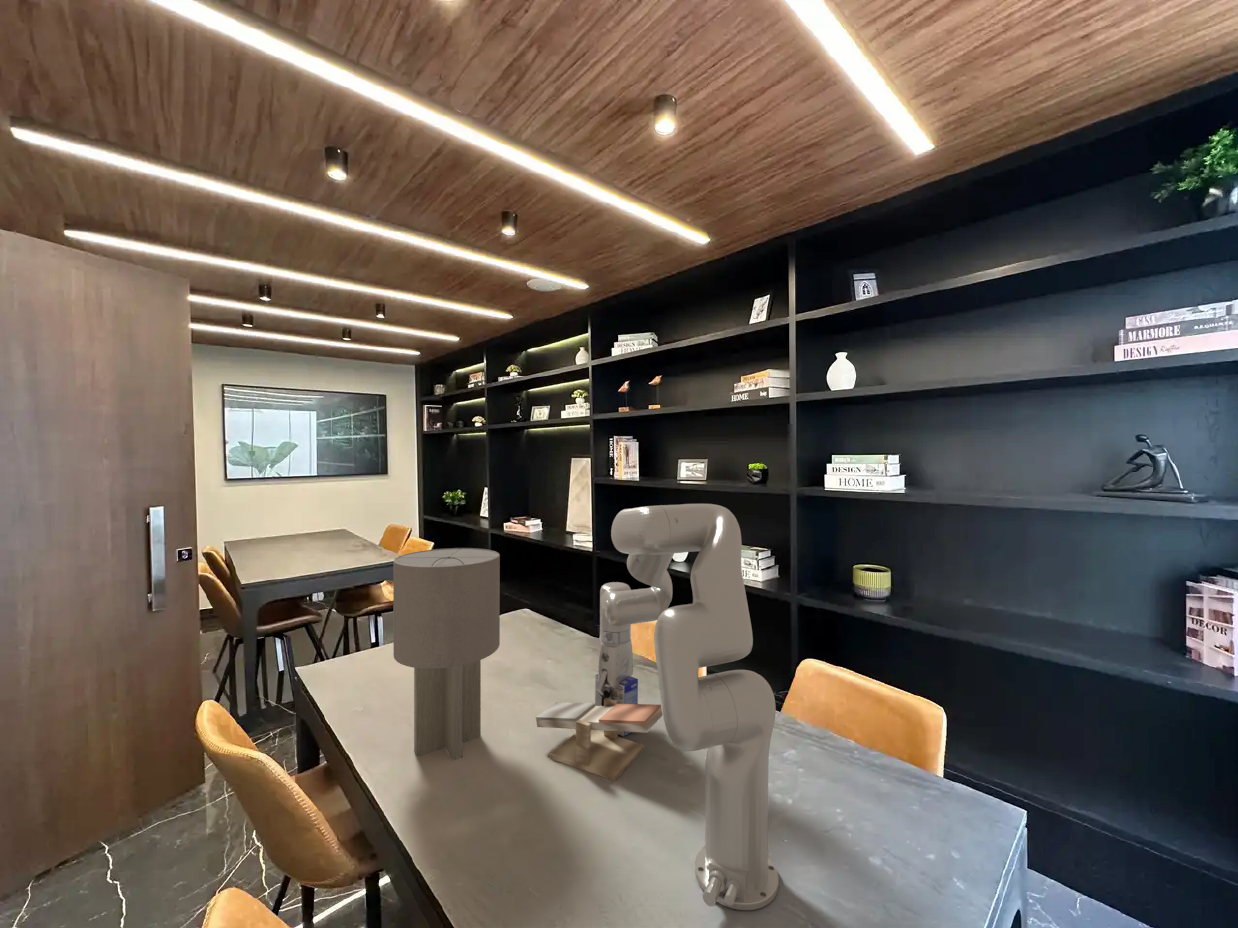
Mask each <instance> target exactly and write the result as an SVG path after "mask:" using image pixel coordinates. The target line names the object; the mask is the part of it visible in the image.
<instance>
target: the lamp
mask: <svg viewBox="0 0 1238 928" xmlns="http://www.w3.org/2000/svg"><path fill="white" fill-rule="evenodd" d="M500 556H501V554H500V553H499V552H497V551H495V550H491V549H486V548H475V547H474V548H473V547H453V548H435V549H428V550H427V549H425V550H421V551H413V552H409V553H405V554H402V555H399V556H398V557H395V558H394V559H393V571H392V573H393V580H392V581H393V599H392V600H393V610H392V611H393V615H392V616H393V617H392V619H393V620H392V621H393V659H394V660H395V661H396V662H397V663H398V664H400V665H402V666H405V667H409V668H413V669H414V670H413V697H414V698H413V705H414V706H413V708H414V710H413V721H414V723H413V726H414V727H413V730H414V731H413V732H414V733H413V734H414V736H413V745H414V746H413V752H414V753H415V755H416V756H417V757H418V756H420V755H423V754H427V753H430V752H434V751H436V750H441V749H443V748H444V749H445V750H446V752H447V754H448V756H449V758H450V759H451V761H454V760H458V759H460V758H463V743H464V742H466V741H470V740H473V739H476V738H480V737H481V736H482V735H481V734H482V733H481V729H482V728H481V727H482V726H481V722H482V721H481V720H482V718H481V715H482V714H481V713H482V712H481V710H482V708H481V704H482V703H481V697H482V695H481V691H482V689H481V685H482V684H481V683H482V682H481V681H482V680H481V679H482V678H481V675H482V674H481V672H482V669H481V668H482V667H481V662H482V660H484V659H486V658H488V657H490V656H491V655H492V654H494V653H495V652H497V650H498V649H499V648H500V644H501V643H500V640H501V639H500V637H501V635H500V631H501V630H500V629H501V628H500V627H501V626H500V625H501V624H500V620H501V619H500V616H501V615H500V614H501V612H500V611H501V610H500V608H501V607H500V605H501V604H500V603H501V601H500V598H501V597H500V595H501V593H500V591H501V590H500V589H501V588H500V587H501V586H500V585H501V584H500V583H501V582H500V581H501V580H500V579H501V578H500V577H501V575H500V573H501V572H500V569H501V565H500V562H501V561H500V560H501V559H500V558H501V557H500Z"/></svg>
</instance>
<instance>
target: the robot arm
mask: <svg viewBox="0 0 1238 928" xmlns="http://www.w3.org/2000/svg"><path fill="white" fill-rule="evenodd" d="M740 527H741V526H740V524H739V522H738V520H737V518H736V516H735V515H734V514H733V512H731V510H730V509H728V508H727V507H725V506H722V505H719V504H713V503H683V504H667V505H666V504H664V505H663V504H660V505H647V506H646V505H645V506H639V507H633V508H624V509H622V510H620V511H619V512H618V513H617V514H616V516H615V517H614V519H613V521H612V525H611V530H610V533H611V534H610V537H611V541H612V544H613V546H614V548H615V549H616V550H617V551H618V552H620V553H621V554H628V557H627V559H626V567H627V570H628V573H629V574H630V575H631V576H632V577H633V578H634V579H636V580H637V581H638V582H640V583H643V584H644V585H646V586H647V585H648V586H650V587H647V588H638V589H631V587H630V585H629V584H627V583H625V582H619V581H616V582H615V581H612V582H607V583H604V584H603V585H601V587H600V590H599V642H600V647H599V653H598V654H599V655H598V666H597V669H598V670H597V672H598V673H597V674H598V680H599V683H598V686H597V691H598V692H599V694H600V697H601V698H602V702H601V706H604V699H605V698H610V699H613V693H614V688H618V687H619V683H620V682H621V681H622V680H624V679H625V678H626V677H628V676H631V677H633V675H634V653H633V644H632V638H631V636H632V634H631V633H632V631H631V629H632V625H634V624H642V623H651V622H655V621H656V623H655V626H654V632H653V633H654V635H653V642H654V654H655V661H656V662H655V663H656V670H657V678H658V685H659V686H658V687H659V692H660V693H659V695H660V701H661V709H662V714H663V715H662V717H663V721H664V725H665V729H666V732H667V735H668V737H669V739H670V740H671V743H673V745H674V746H675V747H677V749H679V750H681V751H684V752H696V751H701V750H705V749H707V751H706V756H705V757H706V758H705V772H704V773H705V774H704V775H705V782H704V783H705V788H704V789H705V799H704V800H705V804H704V805H705V807H704V808H705V812H704V813H705V816H704V817H705V819H704V820H705V828H704V830H705V831H704V832H705V835H704V837H705V838H704V839H705V840H704V842H705V844H704V846H702V848H701V849H700V850H699V851H698V853H697V855H696V857H695V861H694V863H695V864H694V872H695V877H696V880H697V882H698V884H699V887H701V889H702V890H703V894H702V900H703V902H704V903H705V904H706V905H707V906H708V907H714V906H716V903H718V904H720V905H722V906H724V907H727V908H730V909H735V910H738V911H753V910H754V911H755V910H758V909H761V908H763V907H766V906H767V905H769V904H771V902H773V900H774V899H775V897H776V896H777V894H778V890H779V873H778V870H777V867H776V865H775V864H774V861H772V859H771V858H770V857H769V761H770V760H769V759H770V758H769V757H770V748H771V747H770V746H771V740H772V736H773V731H774V728H775V727H774V726H775V721H776V710H777V708H776V706H777V705H776V700H775V695H774V692H773V689H772V687H771V685H770V684H769V681H767V680H766V679H765V677H763V676H762V675H761V674H758V672H755V671H752V670H748V669H747V670H746V669H733V670H726V671H721V672H718V673H710V674H708V675H703V676H699V669H700V668H706V667H707V668H708V667H710V666H711V667H712V666H718V665H722V664H727V663H731V662H735V661H736V662H737V661H739V660H742V659H744V658H745V657H747V656H748V655H749V654H751V652H752V649H753V645H754V643H753V642H754V638H753V637H754V636H753V629H752V622H751V617H750V611H749V605H748V599H747V594H746V588H745V587H746V585H745V583H744V578H743V571H742V570H743V569H742V533H741V532H742V531H741V528H740ZM690 552H692V553H694V552H698V554H697V556H696V558H695V559H694V562H693V565H692V567H691V571H690V584H691V585H690V586H691V591H692V603H688V604H679V605H674V606H671V607H669V606H670V603H671V602H672V599H673V582H672V578H671V576H670V574H669V571H668V568H669V565H670V563H671V561H672V559H673V556H674V555H675V554H684V553H690ZM607 681H608V682H609V684H606V682H607ZM606 687H609V688H610V691H609V692H608V691H607V690H606Z"/></svg>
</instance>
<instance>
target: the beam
mask: <svg viewBox="0 0 1238 928" xmlns="http://www.w3.org/2000/svg"><path fill="white" fill-rule="evenodd" d="M662 717H663V710H662V704H654V703H653V704H650V703H648V704H647V703H645V704H643V703H638V704H616V705H615V706H611V705H609V704H607V705H606V706H595V702H559V701H558V702H555V703H553V704H552V705H550V706H549V707H548V708H547V709H545V710H544V711H541V712H540V714H538V715H537V716H535V720H536V727H537V728H547V729H548V728H549V729H566V730H568V729H570V730H576V722H577V721H578V720H581V721H585V722H588V723H591V730H596V731H604V730H605V731H625V732H631V733H648V732H649V730H651V728H652V727H653V726H655V724H656V723H657V722H658V721H659V720H660V719H661V718H662Z"/></svg>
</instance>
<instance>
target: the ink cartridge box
mask: <svg viewBox="0 0 1238 928" xmlns="http://www.w3.org/2000/svg"><path fill="white" fill-rule="evenodd" d="M594 680H595V684H594V685H595V688H594V689H595V690H594V703H595V706H601V702H602V698H601V697H600V694H599V692H598V691H597V686H598V683H599V680H598V673H597V674H595V679H594ZM606 684H609V682H608V681H607V682H606ZM638 688H639V678H636V677H633V676H628V677H626V678H625V679H624V680H622V681H621V682H620V683H619V687H618V688H614V693H613V699H614V700H617V704H639V703H638V702H639V701H638V700H639V699H638V698H639V697H638V695H639V689H638ZM606 690H607V691H608V692H609V691H610V688H609V687H606ZM631 733H632V732H625V731H617V735H619V736H622V737H625V736H627V735H629V734H631Z"/></svg>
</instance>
